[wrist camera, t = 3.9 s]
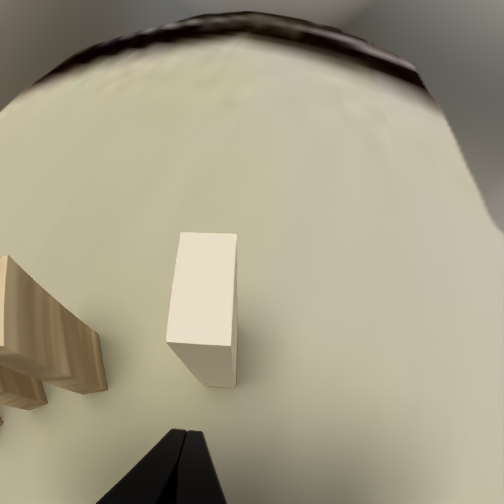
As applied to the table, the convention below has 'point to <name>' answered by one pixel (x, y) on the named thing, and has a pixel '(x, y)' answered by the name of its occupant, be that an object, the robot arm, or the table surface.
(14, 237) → the table surface
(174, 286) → the cream domino
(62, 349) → the maple domino
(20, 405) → the maple domino
